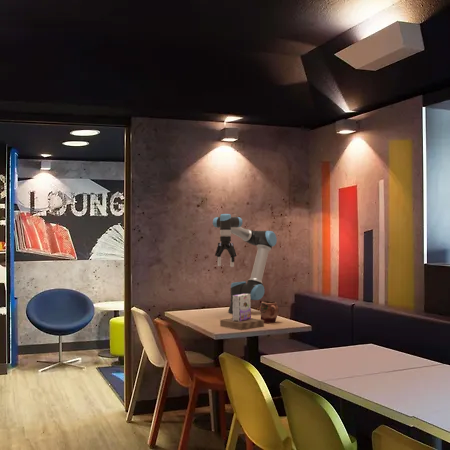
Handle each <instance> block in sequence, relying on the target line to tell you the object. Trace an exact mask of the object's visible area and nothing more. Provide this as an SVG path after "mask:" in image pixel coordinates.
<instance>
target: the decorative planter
mask: <svg viewBox="0 0 450 450" xmlns="http://www.w3.org/2000/svg"><path fill="white" fill-rule="evenodd" d="M258 310H259V312H260V320H264V324H272V323H275V322H276V320H277V318H278V314H279V311H280V309H279V306H278V303H277V301H276V300H272V301H271V300H270V301H269V300H264V301H261V304H260V306H259V309H258Z"/></svg>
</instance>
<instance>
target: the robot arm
mask: <svg viewBox="0 0 450 450" xmlns="http://www.w3.org/2000/svg"><path fill="white" fill-rule="evenodd" d="M212 226H213V227H214V228H216V229H217V228H219V229H220V230H219V235H220V237H219V242H217V247H216V250H215V253H214V256H215V257H216V258H217V259H216V260H217V261H216V262H217V267H221V266H222V254H223V252H224V250H226V251H227V252H228V254H229V255H230V259H229V261H230V262H229V263H230V265H229V266H230V268H234V267H235V257H237V253H236V250H235V247H234V242H232V237H231V236H232V234H233V235H235V236H236V237H238V238H240V239H241V240H242V241H243V242H245V243H247V244H250V245H253V246H255V247H256V249H257V251H256V255H255V259H254V261H253V262H254V264H253V267H252V270H251V274H250V278H248V279H247V281H245V280H243V281H237V282H236V281H235V282H231V283H230V302H229V303H230V304H229V307H228V312H227V313H229V314H232V296H234V295H239V294H251V301H259V300H261V299H263V297H264V296H265V287H264V283H263V278H264V272H265V268H266V264H267V261H268V257H269V252H271V251H272V248H273V247H275V246H276V245H277V239H278V238H277V234H276V233H275V232H274V231H272V230H252V229H246V228H244V227H242V226H243V219H242V218H241V217H239V216H232V215H231V214H230V213H221V214H220V216H218V217H213V219H212Z"/></svg>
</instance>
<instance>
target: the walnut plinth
mask: <svg viewBox="0 0 450 450" xmlns="http://www.w3.org/2000/svg"><path fill="white" fill-rule="evenodd" d="M219 321H220V322H219V323H220V325H219V326H220V327H222V328H224V327H225V328H230V329H234V330H240V331H242V330H243V331H244V330H248V329H256V328H262V327H265V323H264V320H261V318H260V319H259V318H254V317H253V318H252V317H251V319H248V320H244V321H240V322H238V321H232V318H225V319H220V320H219Z"/></svg>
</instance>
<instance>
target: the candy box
mask: <svg viewBox="0 0 450 450" xmlns="http://www.w3.org/2000/svg"><path fill="white" fill-rule="evenodd" d="M251 301H252V300H251V294H239V295H234V296H232V313H231V315H232V321H238V322H240V321H244V320H248V319H251V318H252V313H251V312H252V311H251V310H252V308H251V307H252V303H251Z"/></svg>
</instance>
